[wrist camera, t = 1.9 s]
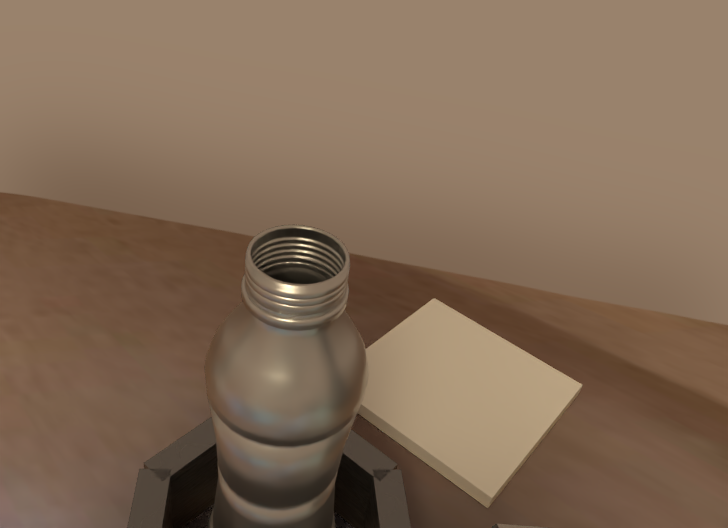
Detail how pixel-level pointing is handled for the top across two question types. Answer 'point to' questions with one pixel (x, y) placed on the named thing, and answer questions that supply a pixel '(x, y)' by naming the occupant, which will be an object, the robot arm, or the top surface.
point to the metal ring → (200, 475)
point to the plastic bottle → (285, 383)
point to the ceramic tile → (462, 398)
